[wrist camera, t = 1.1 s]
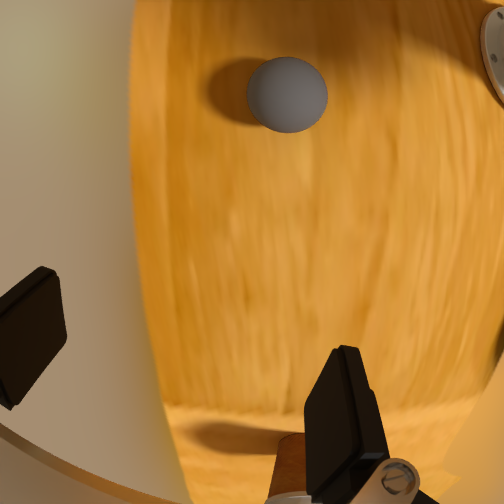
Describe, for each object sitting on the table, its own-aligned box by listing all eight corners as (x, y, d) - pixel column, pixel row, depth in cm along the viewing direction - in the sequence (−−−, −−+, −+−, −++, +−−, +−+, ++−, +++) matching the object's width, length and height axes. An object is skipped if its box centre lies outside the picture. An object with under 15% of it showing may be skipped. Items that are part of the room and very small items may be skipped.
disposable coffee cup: (285, 463, 41) (283, 528, 30) (255, 436, 38) (247, 511, 27) (342, 448, 38) (349, 516, 27) (319, 418, 35) (324, 499, 24)
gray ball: (313, 60, 20) (323, 43, 15) (328, 126, 22) (341, 127, 17) (243, 72, 21) (233, 58, 16) (258, 138, 23) (252, 142, 18)
